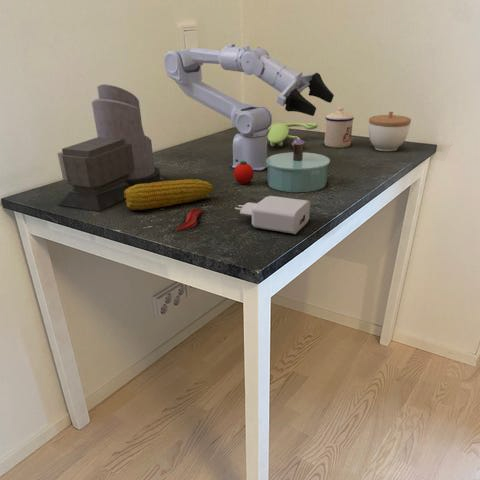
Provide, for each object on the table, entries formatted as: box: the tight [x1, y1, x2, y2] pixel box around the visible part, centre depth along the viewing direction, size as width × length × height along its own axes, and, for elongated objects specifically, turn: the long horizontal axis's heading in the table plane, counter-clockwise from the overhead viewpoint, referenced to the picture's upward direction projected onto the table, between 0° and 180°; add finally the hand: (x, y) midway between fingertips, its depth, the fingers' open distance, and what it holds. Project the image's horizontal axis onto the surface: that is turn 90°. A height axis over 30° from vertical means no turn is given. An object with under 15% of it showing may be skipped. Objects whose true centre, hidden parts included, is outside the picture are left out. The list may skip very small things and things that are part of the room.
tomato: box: [233, 161, 255, 185], centre depth 125 cm, size 5×5×6 cm
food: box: [124, 178, 214, 211], centre depth 111 cm, size 21×6×6 cm, turn 118°
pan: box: [267, 165, 329, 193], centre depth 124 cm, size 15×15×6 cm
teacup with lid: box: [324, 106, 355, 149], centre depth 158 cm, size 12×9×12 cm
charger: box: [234, 195, 311, 235], centre depth 100 cm, size 5×9×15 cm
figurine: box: [267, 122, 319, 148], centre depth 163 cm, size 18×27×6 cm
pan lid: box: [266, 143, 331, 170], centre depth 121 cm, size 16×16×5 cm
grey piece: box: [57, 83, 166, 212], centre depth 117 cm, size 30×16×24 cm, turn 156°
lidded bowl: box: [368, 111, 412, 152], centre depth 152 cm, size 13×13×11 cm
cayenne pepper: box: [175, 208, 204, 231], centre depth 103 cm, size 12×5×2 cm, turn 151°
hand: (323, 105), depth 120 cm, fingers open, 7 cm apart
